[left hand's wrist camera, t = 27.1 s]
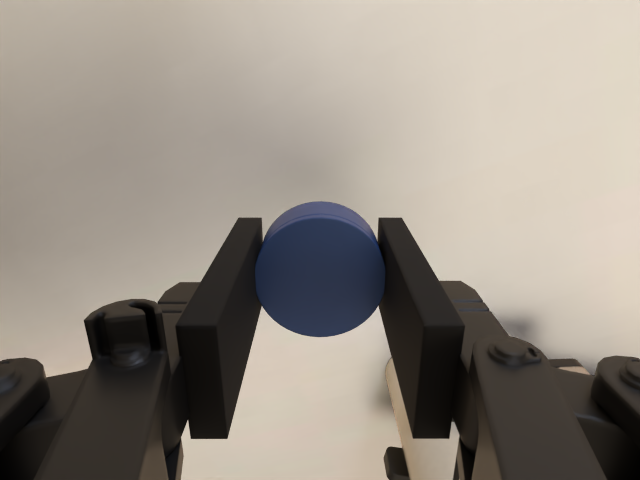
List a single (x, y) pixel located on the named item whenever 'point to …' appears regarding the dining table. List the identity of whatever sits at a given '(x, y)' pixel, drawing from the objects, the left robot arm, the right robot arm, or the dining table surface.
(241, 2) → the dining table surface
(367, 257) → the cap
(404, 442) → the bottle
